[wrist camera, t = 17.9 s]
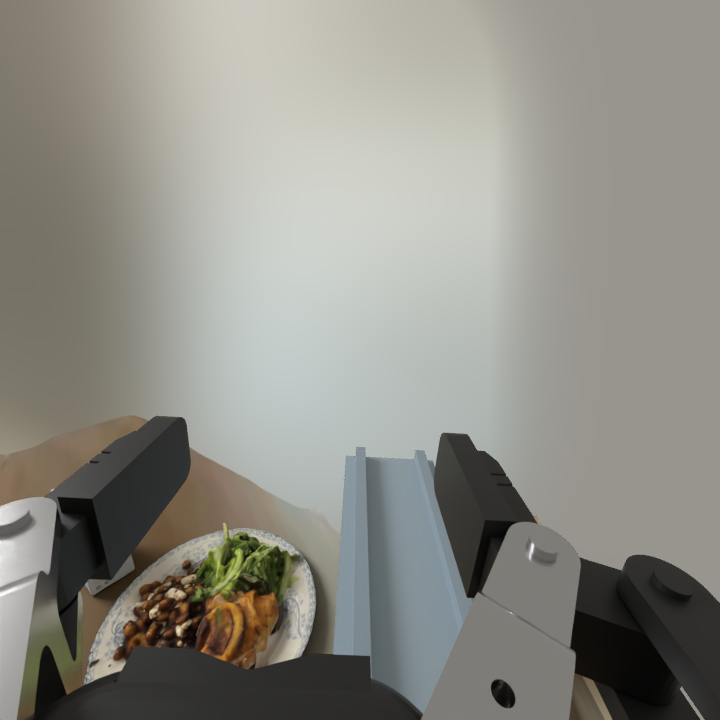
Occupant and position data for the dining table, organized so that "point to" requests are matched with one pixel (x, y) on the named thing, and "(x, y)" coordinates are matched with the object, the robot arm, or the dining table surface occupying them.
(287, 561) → the plate of food
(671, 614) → the robot arm
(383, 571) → the pedestal
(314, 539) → the dining table surface
